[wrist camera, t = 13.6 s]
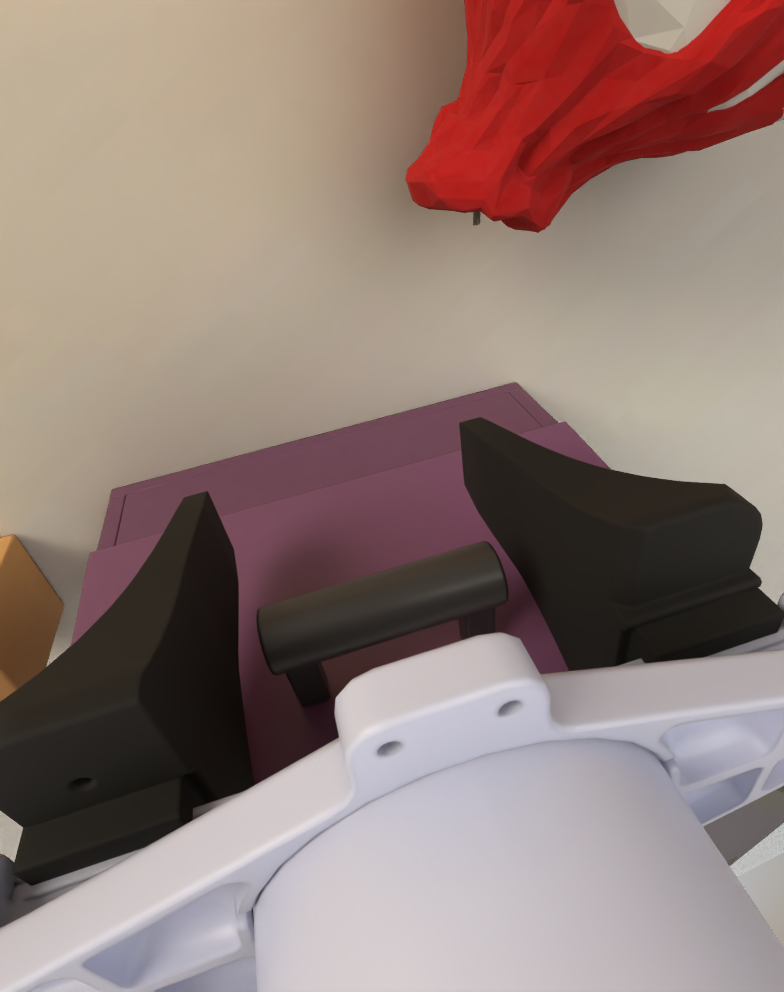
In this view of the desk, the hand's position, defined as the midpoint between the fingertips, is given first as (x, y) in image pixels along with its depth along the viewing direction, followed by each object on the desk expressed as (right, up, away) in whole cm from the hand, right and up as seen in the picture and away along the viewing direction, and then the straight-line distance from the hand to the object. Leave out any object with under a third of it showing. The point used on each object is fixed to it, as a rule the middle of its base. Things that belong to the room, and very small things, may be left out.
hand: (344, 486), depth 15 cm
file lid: (+1, -3, +1) cm, 3 cm away
